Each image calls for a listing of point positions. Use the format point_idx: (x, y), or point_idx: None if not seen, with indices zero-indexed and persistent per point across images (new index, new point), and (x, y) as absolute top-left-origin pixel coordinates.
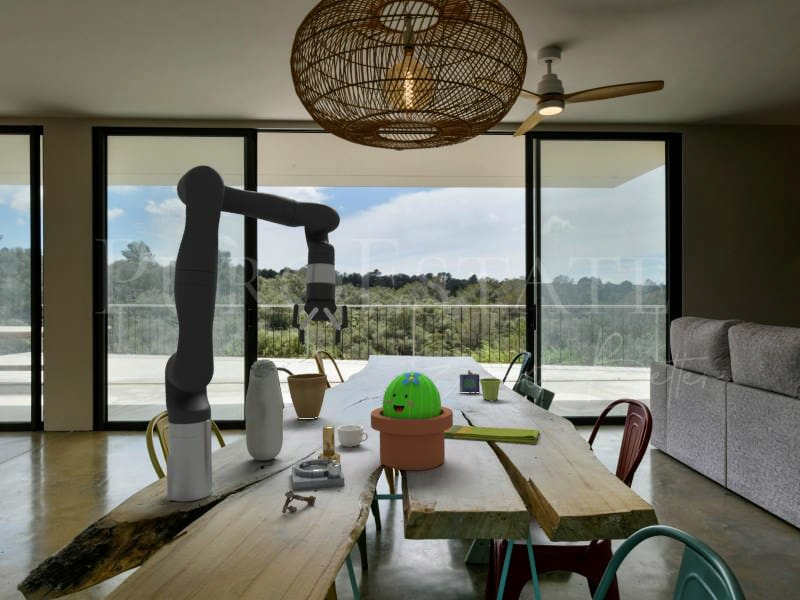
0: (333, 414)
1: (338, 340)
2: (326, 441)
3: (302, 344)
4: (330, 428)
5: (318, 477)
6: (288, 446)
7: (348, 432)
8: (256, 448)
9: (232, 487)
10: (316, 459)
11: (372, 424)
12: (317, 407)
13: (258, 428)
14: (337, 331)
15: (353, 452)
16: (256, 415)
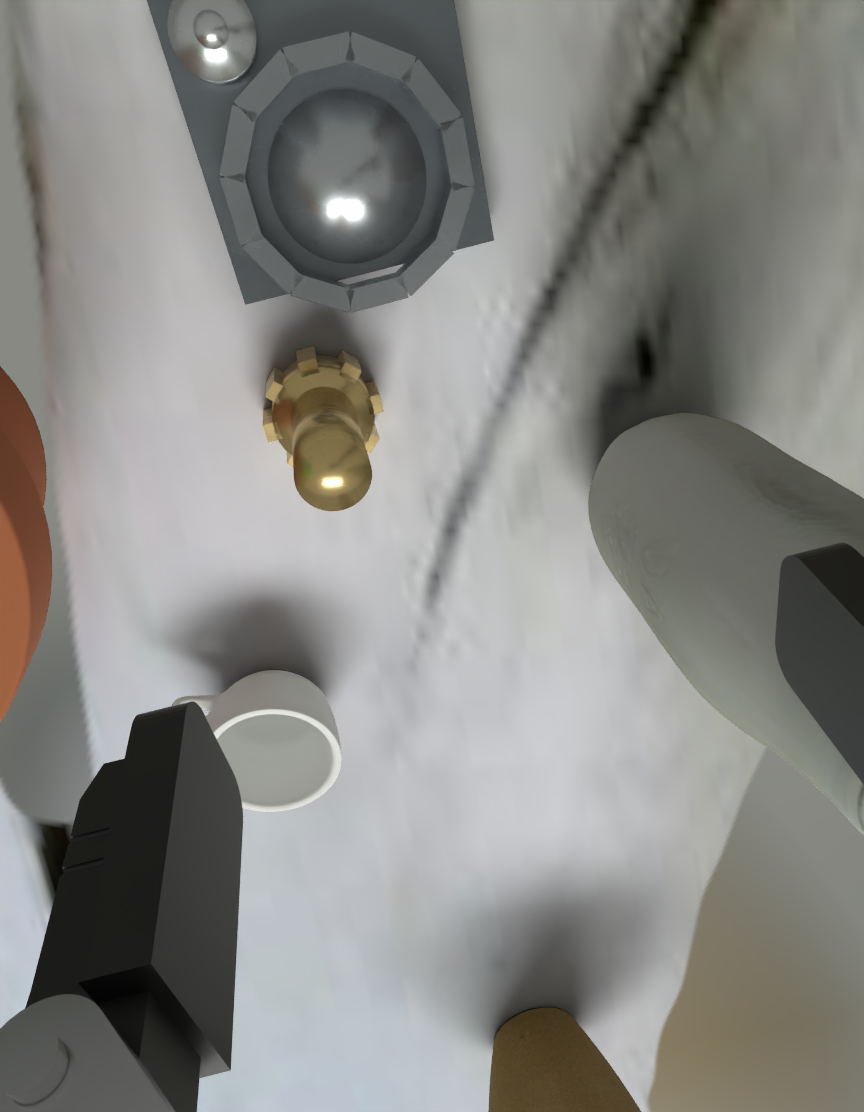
0: (436, 1089)
1: (121, 795)
2: (335, 412)
3: (821, 547)
4: (313, 442)
5: (309, 24)
6: (564, 668)
7: (270, 701)
8: (712, 417)
9: (754, 19)
10: (371, 297)
11: (3, 450)
12: (504, 1071)
13: (756, 454)
14: (99, 960)
15: (233, 595)
16: (811, 480)
